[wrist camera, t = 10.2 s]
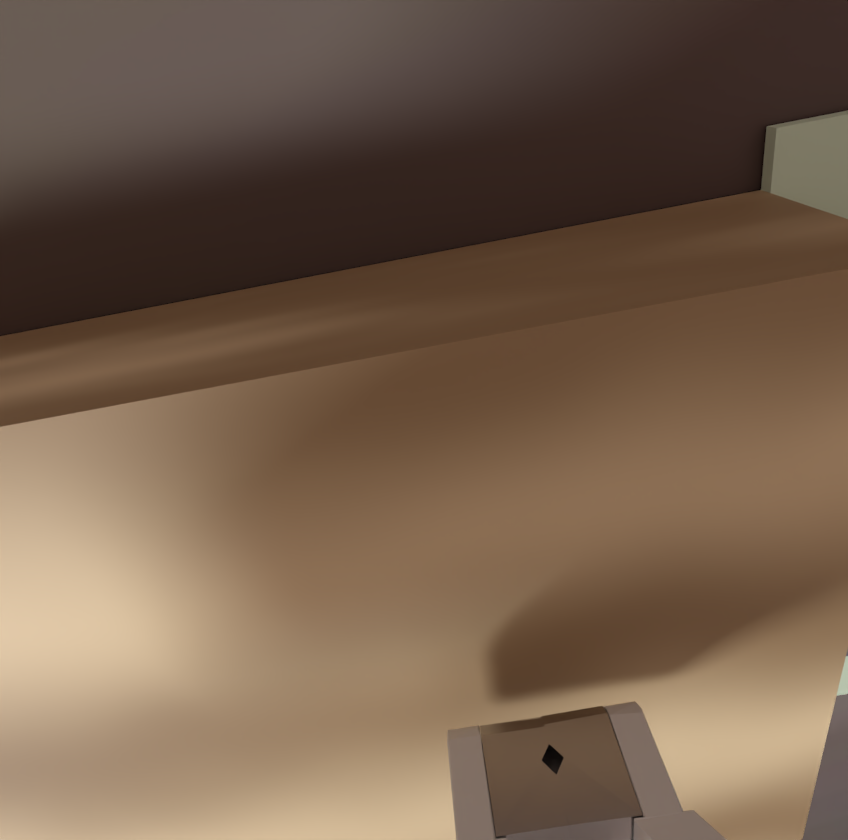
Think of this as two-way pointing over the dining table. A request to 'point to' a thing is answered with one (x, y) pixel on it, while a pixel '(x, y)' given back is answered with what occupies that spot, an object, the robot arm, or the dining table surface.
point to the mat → (810, 180)
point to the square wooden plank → (430, 530)
